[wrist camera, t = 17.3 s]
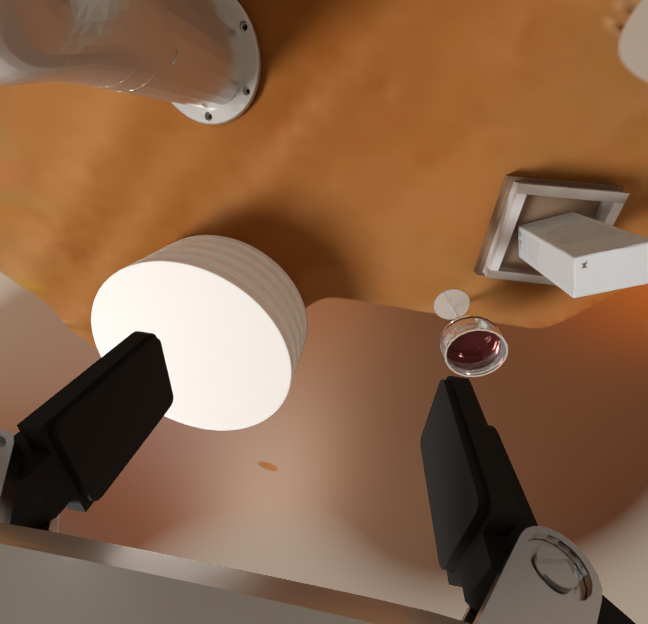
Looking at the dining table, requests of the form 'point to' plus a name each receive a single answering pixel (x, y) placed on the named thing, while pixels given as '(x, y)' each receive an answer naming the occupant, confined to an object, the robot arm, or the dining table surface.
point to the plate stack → (210, 327)
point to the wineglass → (468, 337)
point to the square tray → (537, 204)
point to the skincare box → (584, 254)
